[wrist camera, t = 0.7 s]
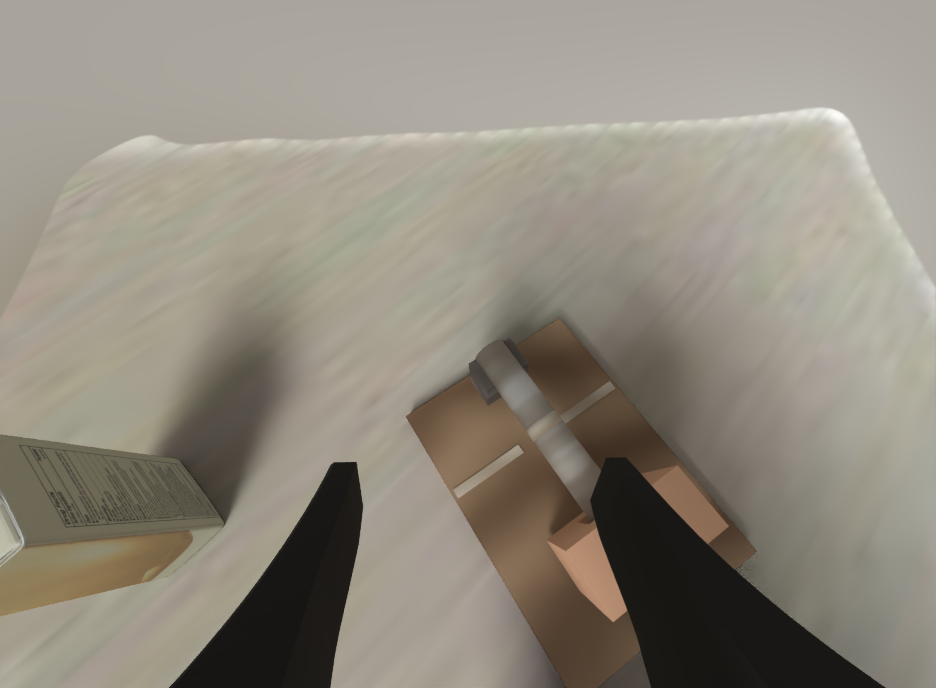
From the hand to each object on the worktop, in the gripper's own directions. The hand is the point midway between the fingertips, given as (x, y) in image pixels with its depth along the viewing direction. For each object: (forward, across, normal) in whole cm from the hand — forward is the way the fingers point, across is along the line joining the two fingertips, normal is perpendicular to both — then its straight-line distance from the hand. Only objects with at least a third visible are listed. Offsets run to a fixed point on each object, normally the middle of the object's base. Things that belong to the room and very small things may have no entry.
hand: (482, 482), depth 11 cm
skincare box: (+9, +18, +15) cm, 25 cm away
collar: (+5, -9, +11) cm, 15 cm away
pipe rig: (+8, -7, +11) cm, 16 cm away
